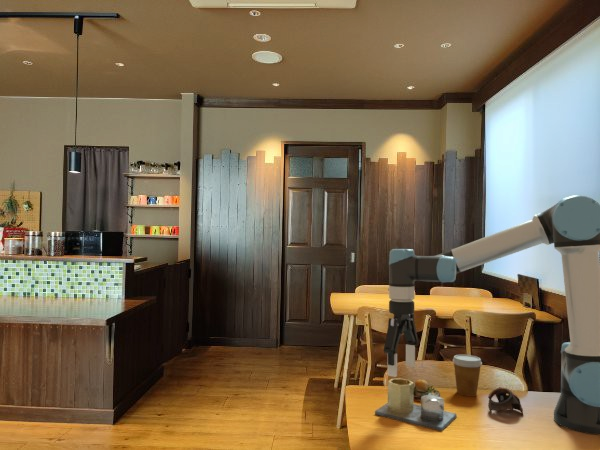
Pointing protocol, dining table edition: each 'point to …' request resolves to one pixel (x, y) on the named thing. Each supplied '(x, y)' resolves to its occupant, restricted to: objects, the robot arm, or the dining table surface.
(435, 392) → the burger
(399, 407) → the sleeve
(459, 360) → the disposable coffee cup
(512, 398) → the pottery mug
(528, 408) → the dining table surface
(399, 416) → the plate
